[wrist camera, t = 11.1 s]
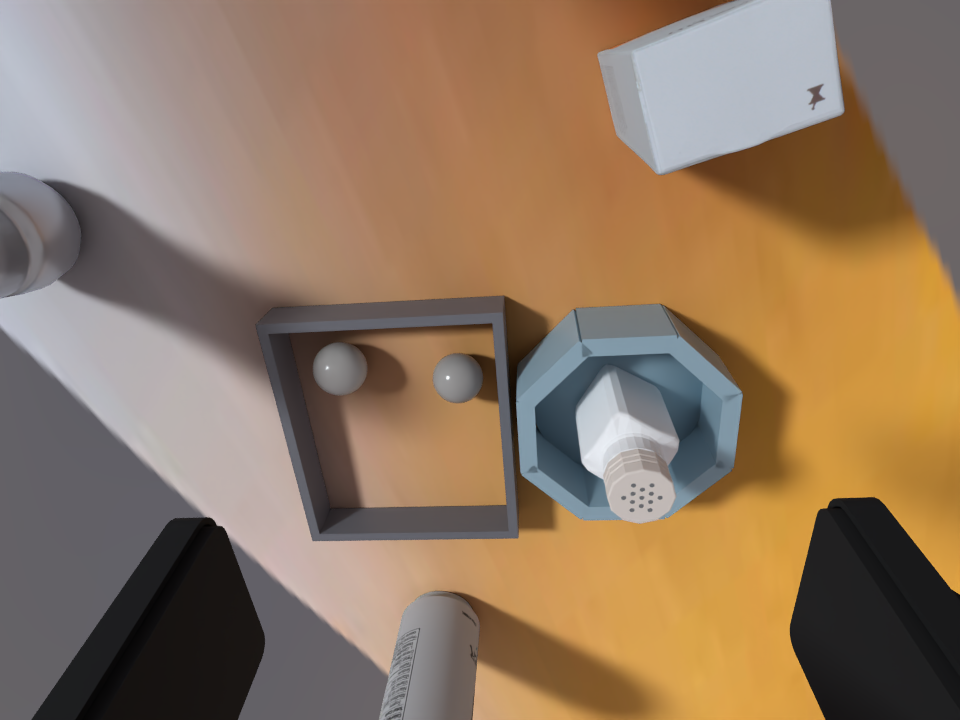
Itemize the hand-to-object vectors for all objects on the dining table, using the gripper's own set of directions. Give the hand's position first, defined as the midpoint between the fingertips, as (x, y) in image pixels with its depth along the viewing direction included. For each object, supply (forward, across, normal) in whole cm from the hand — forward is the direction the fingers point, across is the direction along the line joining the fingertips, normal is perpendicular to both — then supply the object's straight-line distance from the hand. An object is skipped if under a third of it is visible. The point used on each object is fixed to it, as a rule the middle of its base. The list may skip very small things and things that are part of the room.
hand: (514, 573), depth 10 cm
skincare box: (+26, -8, -5) cm, 28 cm away
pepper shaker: (+25, -6, +12) cm, 29 cm away
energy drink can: (+25, +7, +32) cm, 41 cm away
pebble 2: (+26, +4, +10) cm, 28 cm away
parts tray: (+26, +8, +14) cm, 30 cm away
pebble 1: (+26, +11, +9) cm, 30 cm away
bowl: (+25, -6, +13) cm, 29 cm away
